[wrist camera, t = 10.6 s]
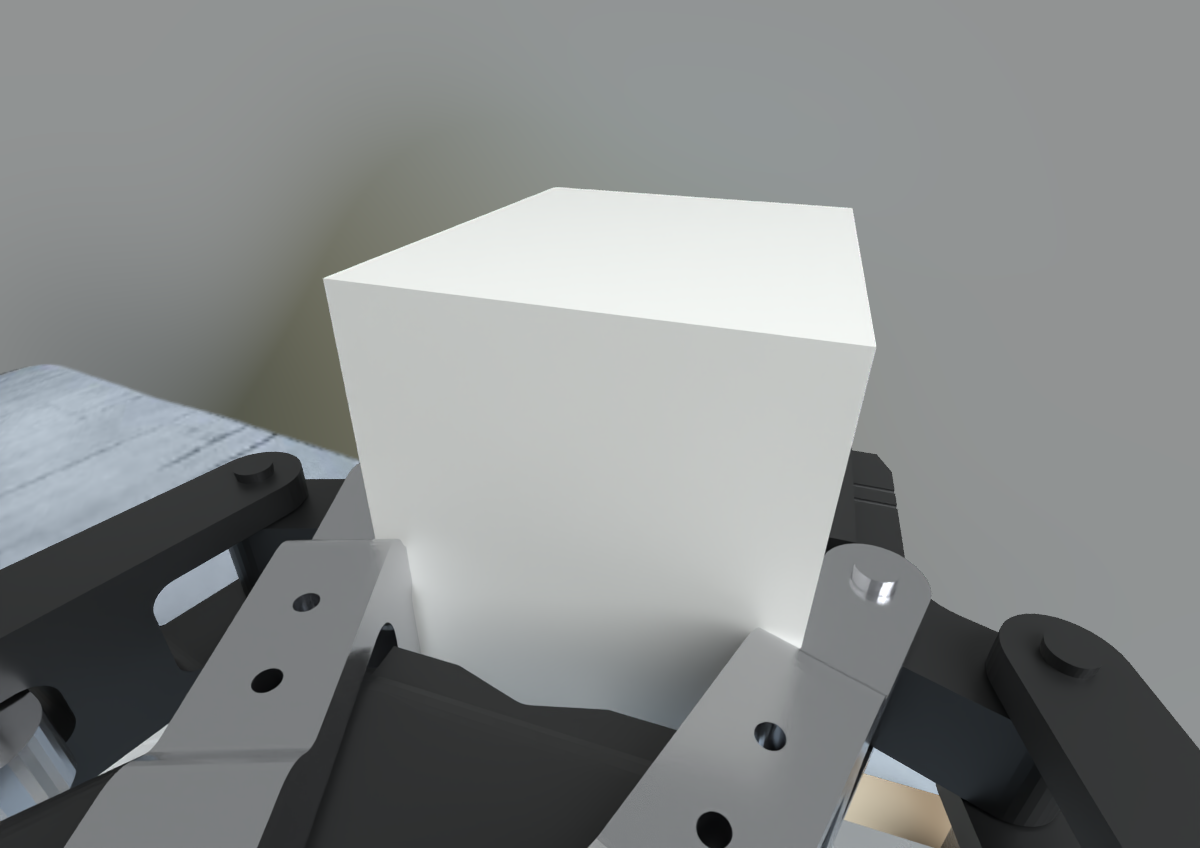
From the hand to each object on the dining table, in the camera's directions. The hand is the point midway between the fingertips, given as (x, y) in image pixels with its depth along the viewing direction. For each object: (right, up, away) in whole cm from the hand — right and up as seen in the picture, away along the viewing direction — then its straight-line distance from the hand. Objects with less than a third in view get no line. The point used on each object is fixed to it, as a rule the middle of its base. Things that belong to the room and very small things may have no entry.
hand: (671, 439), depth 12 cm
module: (-1, -7, +1) cm, 7 cm away
